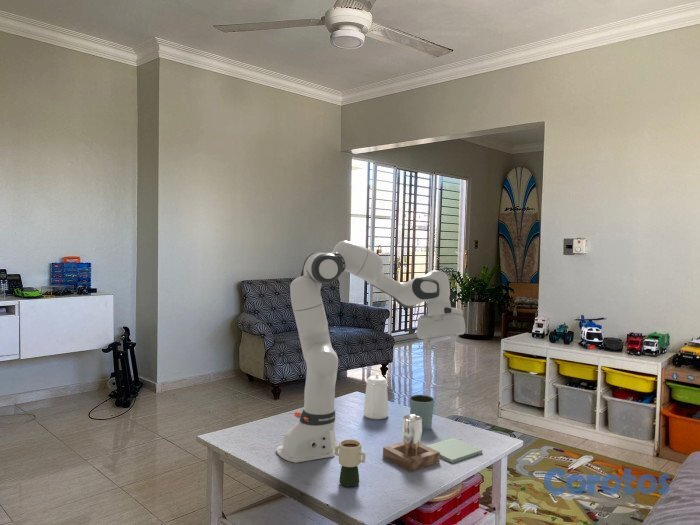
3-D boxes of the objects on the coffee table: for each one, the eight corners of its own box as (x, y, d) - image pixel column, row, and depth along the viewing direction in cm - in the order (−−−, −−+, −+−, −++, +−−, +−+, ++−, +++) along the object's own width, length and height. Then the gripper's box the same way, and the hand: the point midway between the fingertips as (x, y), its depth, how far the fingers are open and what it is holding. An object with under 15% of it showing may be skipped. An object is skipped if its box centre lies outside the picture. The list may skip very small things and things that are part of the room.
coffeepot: (358, 424, 218) (359, 380, 217) (368, 406, 242) (369, 366, 241) (384, 427, 215) (385, 382, 215) (391, 408, 240) (392, 367, 239)
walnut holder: (409, 471, 175) (410, 461, 174) (382, 457, 186) (383, 447, 186) (439, 462, 183) (439, 452, 183) (411, 448, 194) (412, 439, 194)
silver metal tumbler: (408, 453, 189) (409, 412, 189) (424, 459, 185) (426, 417, 184) (397, 459, 184) (398, 417, 183) (413, 465, 179) (415, 422, 179)
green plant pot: (432, 423, 222) (433, 395, 222) (434, 431, 212) (435, 402, 212) (408, 422, 223) (409, 394, 222) (409, 430, 213) (410, 401, 212)
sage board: (451, 463, 182) (451, 459, 182) (423, 449, 193) (423, 446, 193) (482, 453, 192) (482, 450, 192) (453, 440, 203) (453, 437, 203)
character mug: (369, 484, 165) (371, 443, 164) (358, 493, 159) (359, 451, 158) (340, 475, 171) (341, 436, 170) (328, 483, 165) (329, 443, 164)
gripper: (412, 314, 207) (413, 350, 203) (457, 307, 193) (459, 345, 189) (422, 316, 211) (423, 351, 207) (466, 310, 198) (468, 347, 194)
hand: (441, 348), depth 198 cm, fingers open, 8 cm apart
